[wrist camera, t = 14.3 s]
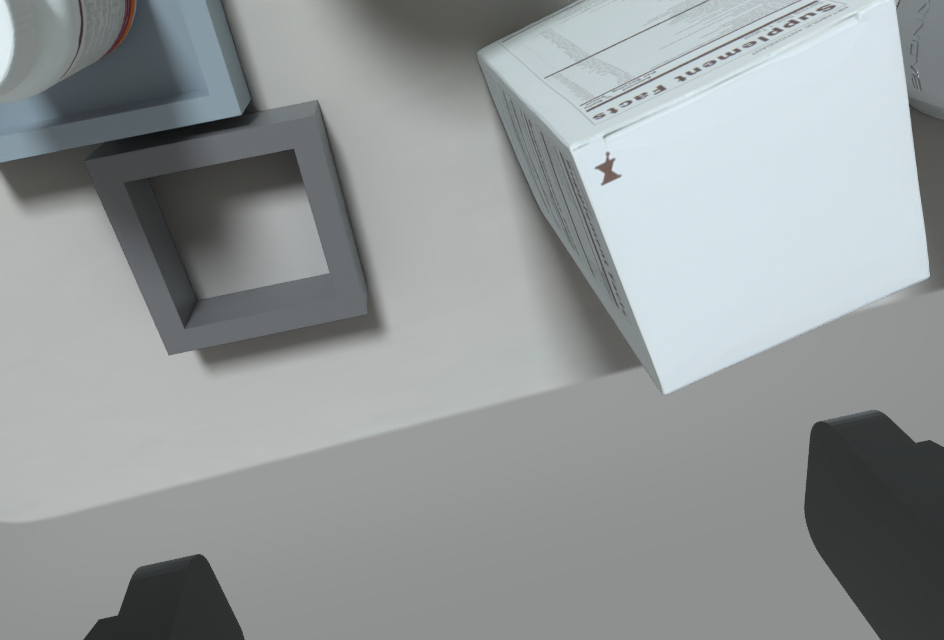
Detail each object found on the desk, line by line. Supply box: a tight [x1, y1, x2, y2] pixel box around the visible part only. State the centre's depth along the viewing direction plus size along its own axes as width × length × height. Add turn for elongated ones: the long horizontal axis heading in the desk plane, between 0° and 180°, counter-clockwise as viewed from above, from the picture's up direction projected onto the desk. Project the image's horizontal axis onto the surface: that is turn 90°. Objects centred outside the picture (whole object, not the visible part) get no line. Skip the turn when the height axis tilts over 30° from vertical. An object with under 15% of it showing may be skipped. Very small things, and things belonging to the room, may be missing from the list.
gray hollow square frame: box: [84, 100, 367, 355], centre depth 35 cm, size 10×10×3 cm
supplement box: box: [477, 0, 930, 395], centre depth 28 cm, size 10×9×17 cm
